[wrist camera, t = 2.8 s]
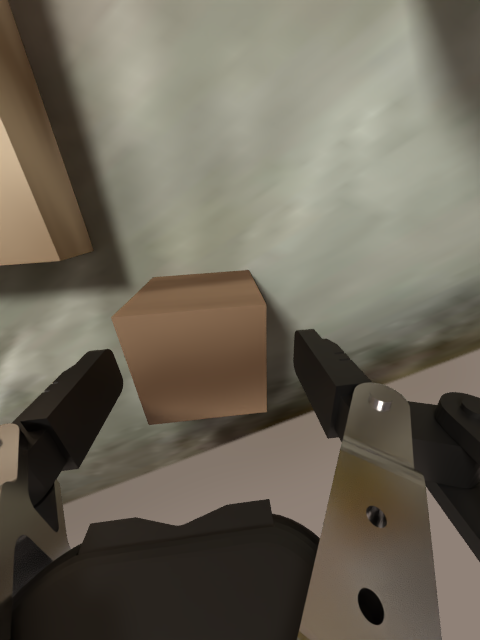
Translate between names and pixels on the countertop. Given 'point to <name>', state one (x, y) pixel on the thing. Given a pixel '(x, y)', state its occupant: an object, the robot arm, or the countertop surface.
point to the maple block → (31, 167)
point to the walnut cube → (196, 346)
